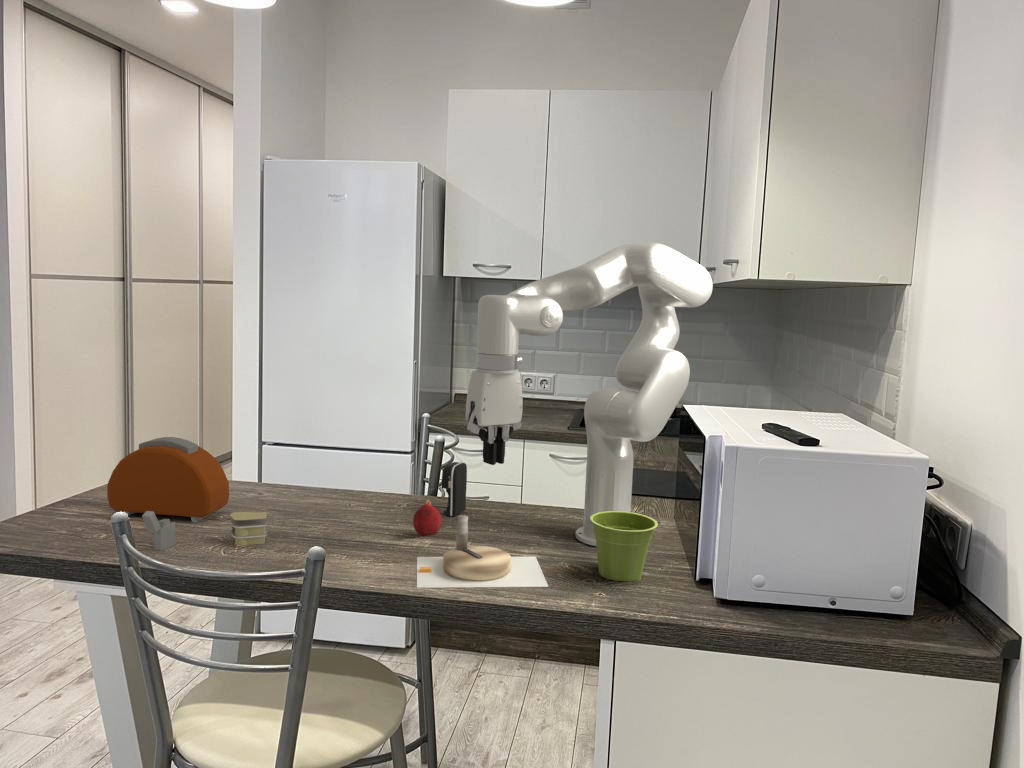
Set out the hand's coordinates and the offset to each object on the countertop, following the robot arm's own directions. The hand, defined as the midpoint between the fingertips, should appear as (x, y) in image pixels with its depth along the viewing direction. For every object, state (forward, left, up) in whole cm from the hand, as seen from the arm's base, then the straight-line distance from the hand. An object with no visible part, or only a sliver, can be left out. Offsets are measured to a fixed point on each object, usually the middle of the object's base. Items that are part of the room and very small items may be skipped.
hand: (493, 462), depth 147 cm
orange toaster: (+67, -31, -19) cm, 76 cm away
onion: (+12, -14, -19) cm, 27 cm away
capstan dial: (+3, +8, -17) cm, 19 cm away
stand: (+3, +9, -19) cm, 21 cm away
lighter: (+62, -8, -19) cm, 65 cm away
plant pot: (-22, +10, -19) cm, 31 cm away
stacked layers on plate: (+46, -13, -20) cm, 52 cm away
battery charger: (+6, -33, -19) cm, 39 cm away
